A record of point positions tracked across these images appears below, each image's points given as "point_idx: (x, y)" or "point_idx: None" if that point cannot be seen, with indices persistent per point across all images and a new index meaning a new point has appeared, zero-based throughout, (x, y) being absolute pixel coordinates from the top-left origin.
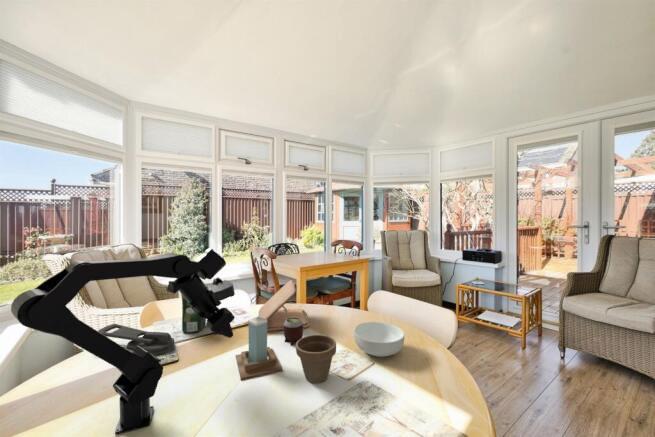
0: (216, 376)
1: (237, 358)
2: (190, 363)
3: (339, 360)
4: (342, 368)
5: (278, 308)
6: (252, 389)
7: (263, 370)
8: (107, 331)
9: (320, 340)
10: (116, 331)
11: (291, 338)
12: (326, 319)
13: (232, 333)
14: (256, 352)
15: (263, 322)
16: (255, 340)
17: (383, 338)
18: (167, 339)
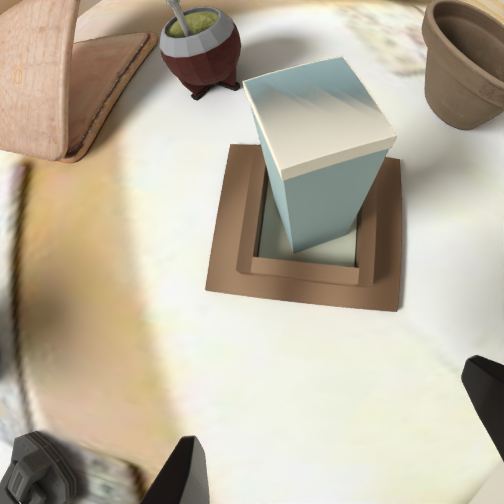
0: (320, 390)
1: (237, 289)
2: (171, 445)
3: (388, 34)
4: (426, 48)
5: (70, 59)
6: (459, 285)
7: (384, 220)
8: None
9: (434, 17)
10: None
11: (235, 70)
12: (149, 6)
13: (493, 364)
14: (354, 216)
15: (358, 86)
16: (359, 196)
17: None
18: (40, 468)
